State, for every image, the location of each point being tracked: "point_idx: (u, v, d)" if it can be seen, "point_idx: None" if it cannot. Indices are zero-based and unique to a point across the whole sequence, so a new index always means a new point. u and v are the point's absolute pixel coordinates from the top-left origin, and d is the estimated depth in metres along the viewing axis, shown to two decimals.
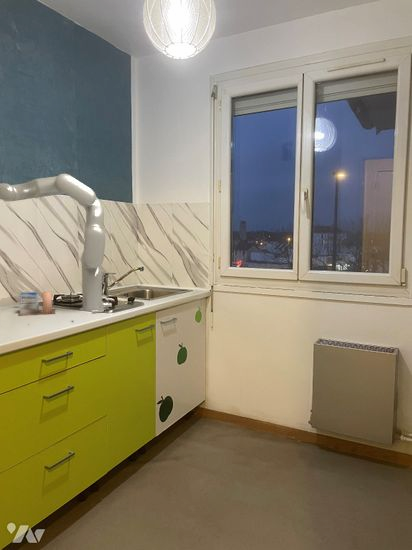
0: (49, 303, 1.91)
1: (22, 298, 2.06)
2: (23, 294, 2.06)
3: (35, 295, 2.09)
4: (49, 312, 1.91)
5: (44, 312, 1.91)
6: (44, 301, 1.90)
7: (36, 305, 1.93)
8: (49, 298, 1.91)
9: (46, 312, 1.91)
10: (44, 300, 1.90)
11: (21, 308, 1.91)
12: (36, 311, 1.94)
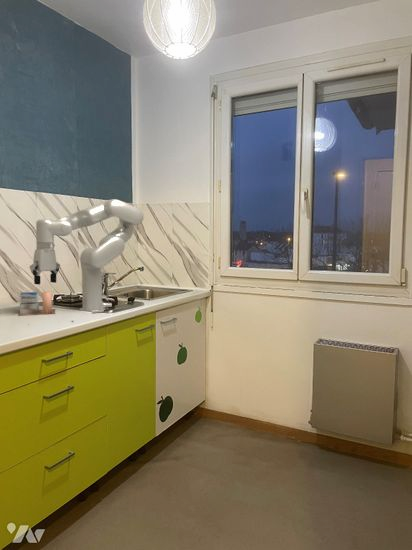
0: (49, 303, 1.91)
1: (22, 298, 2.06)
2: (23, 294, 2.06)
3: (35, 295, 2.09)
4: (49, 312, 1.91)
5: (44, 312, 1.91)
6: (44, 301, 1.90)
7: (36, 305, 1.93)
8: (49, 298, 1.91)
9: (46, 312, 1.91)
10: (44, 300, 1.90)
11: (21, 308, 1.91)
12: (36, 311, 1.94)
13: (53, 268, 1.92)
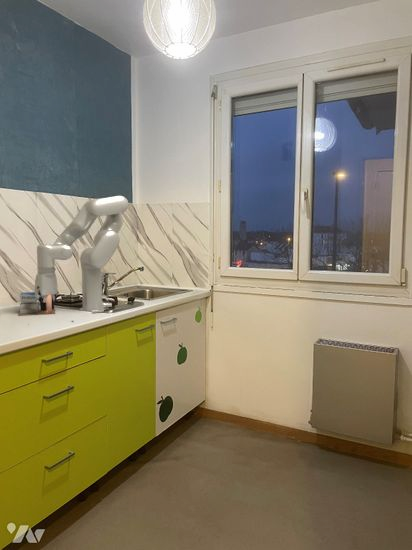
0: (49, 303, 1.91)
1: (22, 298, 2.06)
2: (23, 294, 2.06)
3: None
4: (49, 312, 1.91)
5: (44, 312, 1.91)
6: None
7: (36, 305, 1.93)
8: (49, 298, 1.91)
9: (46, 312, 1.91)
10: None
11: (21, 308, 1.91)
12: (36, 311, 1.94)
13: (54, 292, 1.93)
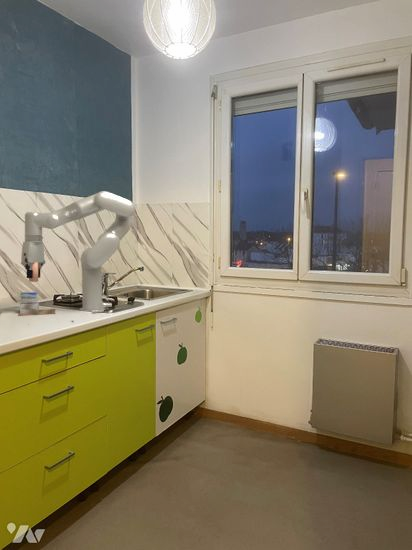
0: (35, 271, 1.92)
1: (22, 298, 2.06)
2: (23, 294, 2.06)
3: (35, 295, 2.09)
4: (35, 280, 1.92)
5: (30, 280, 1.91)
6: None
7: (36, 305, 1.93)
8: (36, 266, 1.91)
9: (32, 280, 1.91)
10: None
11: (21, 308, 1.91)
12: (36, 311, 1.94)
13: (41, 260, 1.94)
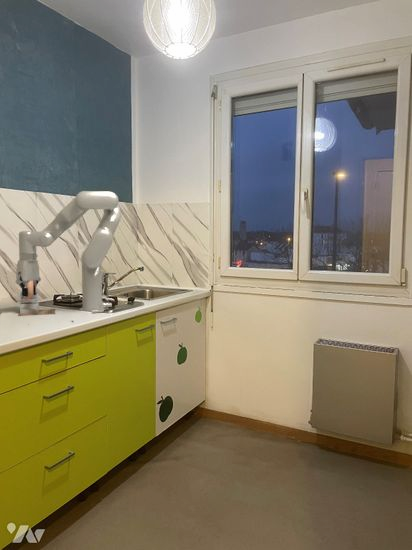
0: (31, 289, 1.94)
1: (22, 298, 2.06)
2: None
3: (35, 295, 2.09)
4: (31, 298, 1.94)
5: (26, 298, 1.94)
6: None
7: (36, 305, 1.93)
8: (31, 284, 1.94)
9: (28, 298, 1.94)
10: None
11: (21, 308, 1.91)
12: (36, 311, 1.94)
13: (36, 278, 1.97)
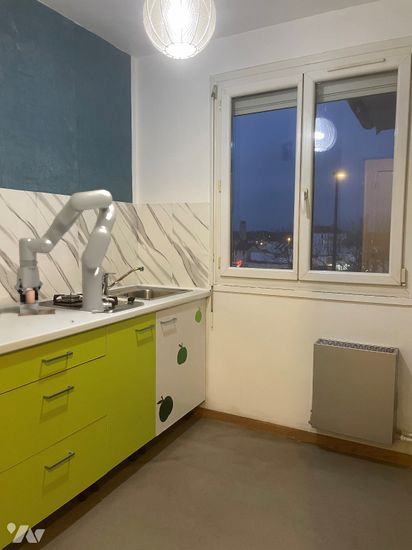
0: (32, 301, 1.95)
1: None
2: None
3: None
4: None
5: None
6: (27, 299, 1.94)
7: (36, 305, 1.93)
8: (32, 296, 1.95)
9: None
10: (27, 298, 1.94)
11: (21, 308, 1.91)
12: (36, 311, 1.94)
13: (36, 285, 1.97)
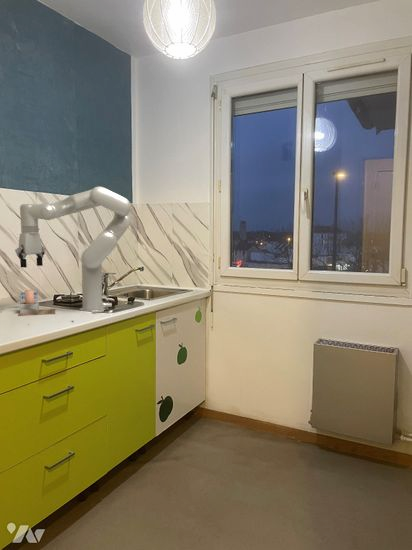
0: (32, 301, 1.95)
1: (22, 298, 2.06)
2: (23, 294, 2.06)
3: (35, 295, 2.09)
4: None
5: None
6: (27, 299, 1.94)
7: (36, 305, 1.93)
8: (31, 296, 1.95)
9: None
10: (27, 298, 1.94)
11: (21, 308, 1.91)
12: (36, 311, 1.94)
13: (39, 251, 1.97)
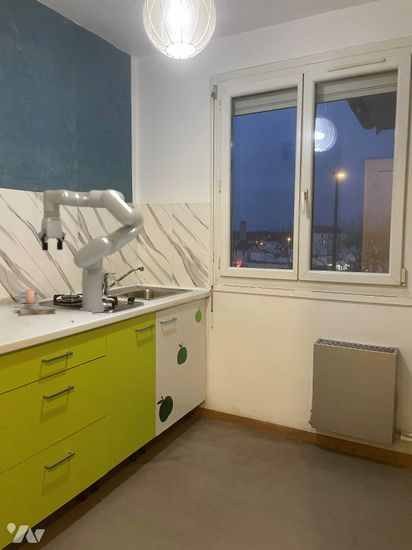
0: (32, 301, 1.95)
1: (22, 298, 2.06)
2: (23, 294, 2.06)
3: (35, 295, 2.09)
4: None
5: None
6: (27, 299, 1.94)
7: (36, 305, 1.93)
8: (32, 297, 1.95)
9: None
10: (27, 298, 1.94)
11: (21, 308, 1.91)
12: (36, 311, 1.94)
13: (59, 236, 2.07)
